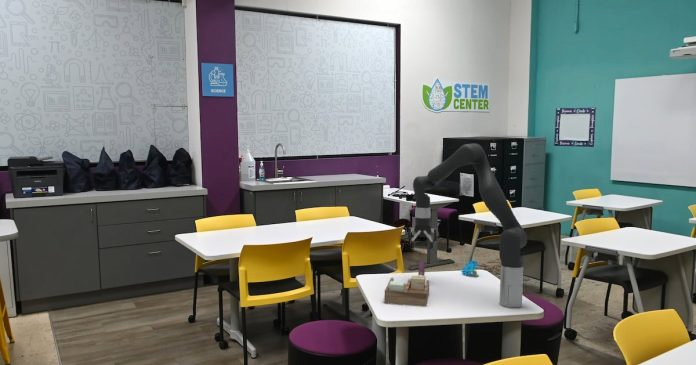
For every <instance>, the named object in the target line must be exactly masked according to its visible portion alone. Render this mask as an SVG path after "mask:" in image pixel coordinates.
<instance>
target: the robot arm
mask: <svg viewBox="0 0 696 365" xmlns="http://www.w3.org/2000/svg"><path fill="white" fill-rule="evenodd" d="M485 152H486V151H485V150H484V148H483V147H482V145H480V144H479V143H467V144H466V143H465V144H463V145H461V146H460V147H459V148H458V149H457V150H456V151H454V153H452V154H451V155H450V156H449V157H448V158H447V159H446V160H444V161H442V162H441V163H440V164H438V165H437V166H434V167H433V168H432V169H430V170H429V171H428V173H427V175H422V176H421V175H420V176H416V177H415V178H414V179H413V183H412V188H413V193H414V197H415V210H414V213H415V214H414V227H411V226H410V227H408V232H407V240H408V241H410V242H411V243H410V245H411V246H410V247H411V248H412V249H413V250H414V249H415V240H416V239H417V238H418V237H420V238H421V237H422V238H427V239H429V250H433V249H434V242H437V241H438V232H437V228H435V227H434V228H431V217H432V216H431V197H430V196H429V195H427V194H426V192H425V191H429V190H431V189H432V190H433V188H435V187H436V186H437V185H438V183H440V182H441V181H444V180H445V179H446V178H448V177H449V176H451V175H452V173H453V172H454V171H455V170H457V169H458V168H461V167H464V166H466V165H472V166H473V168H474V170H475V172H476V174H477V177H478V178H477V179H478V191H479V194H480V198H481V200H482V201H483V203H484V205H485V207H486V208H487V209H488V211H490V212H491V214H492V215H493V216H494V217H495V218H496V219H497V220H498V221H499V223H500V225H501V226H502V228H503V231H502V232H501V234H500V237H499V241H498V242H499V247H498V249H499V251H498V252H499V253H498V255H499V259H500V277H499V278H500V284H499V305H501V306H503V307H507V308H509V309H510V308H522V307H523V292H524V291H523V290H524V289H523V288H524V286H523V281H524V280H523V278H524V260H523V259H522V258H521V249H522V248H524V247H525V246H526V245H527V243H528V236H527V234H526V232H525V230H524V228H523V227H522V225H521V224H520V222H519V220H518V219H517V218H516V216H515V214H514V213H513V209H512V208H511V206H510V204H509V201H508V200H507V198H506V196H505V193H504V192H503V190H502V188H501V186H500V184H499V182H498V180H497V178H496V176H495V174H494V172H493V170H492V168H491V165H490V163H489V160H488V158H487V154H486V153H485ZM412 232H415V234H414V236H412ZM431 232H432V234H433V237H432V235H431V234H430V233H431ZM411 236H412V237H411Z"/></svg>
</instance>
